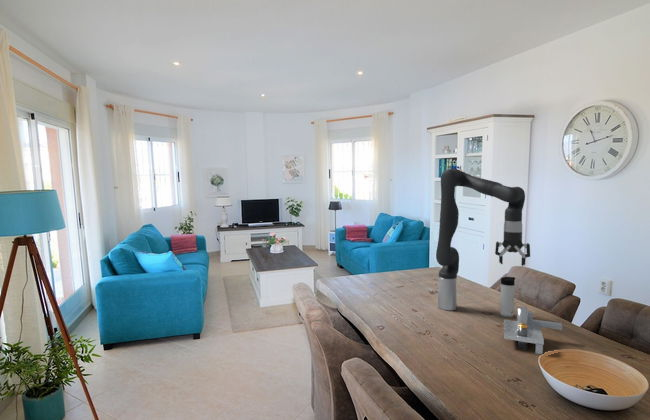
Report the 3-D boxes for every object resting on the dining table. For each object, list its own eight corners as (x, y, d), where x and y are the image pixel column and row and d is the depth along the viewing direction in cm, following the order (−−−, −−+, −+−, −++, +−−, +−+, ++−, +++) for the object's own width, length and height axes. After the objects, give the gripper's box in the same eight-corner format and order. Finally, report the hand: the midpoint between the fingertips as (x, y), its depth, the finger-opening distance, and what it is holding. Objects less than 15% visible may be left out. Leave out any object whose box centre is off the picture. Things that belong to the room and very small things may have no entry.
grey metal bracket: (504, 348, 146) (504, 316, 145) (503, 331, 161) (504, 302, 160) (567, 359, 137) (569, 324, 135) (560, 340, 151) (561, 309, 150)
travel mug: (516, 318, 175) (517, 279, 173) (501, 317, 177) (502, 279, 174) (512, 313, 181) (513, 275, 179) (498, 312, 183) (499, 275, 181)
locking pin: (518, 348, 146) (518, 325, 145) (517, 345, 149) (518, 322, 148) (527, 350, 144) (528, 327, 143) (526, 346, 147) (527, 323, 146)
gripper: (495, 230, 161) (494, 265, 163) (531, 232, 155) (530, 268, 156) (495, 228, 168) (495, 261, 169) (530, 229, 161) (528, 264, 163)
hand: (511, 264), depth 163 cm, fingers open, 8 cm apart
